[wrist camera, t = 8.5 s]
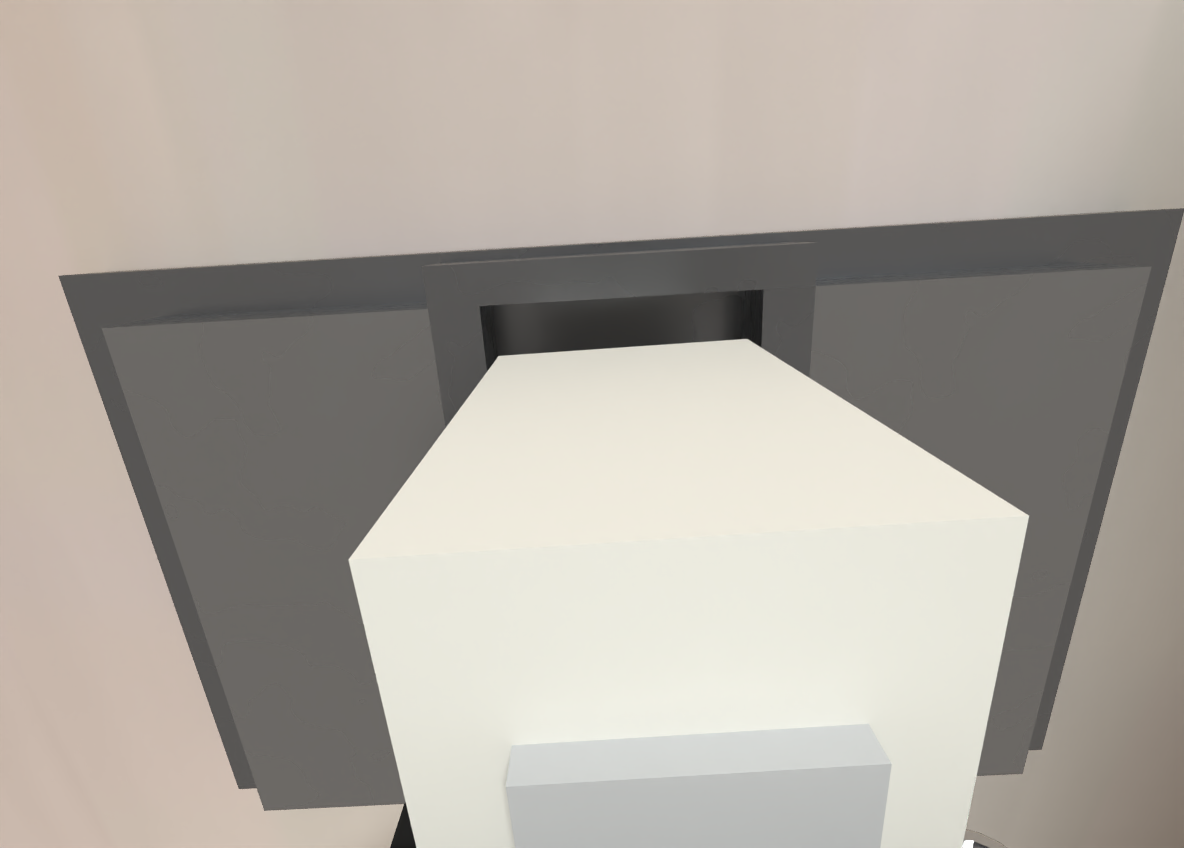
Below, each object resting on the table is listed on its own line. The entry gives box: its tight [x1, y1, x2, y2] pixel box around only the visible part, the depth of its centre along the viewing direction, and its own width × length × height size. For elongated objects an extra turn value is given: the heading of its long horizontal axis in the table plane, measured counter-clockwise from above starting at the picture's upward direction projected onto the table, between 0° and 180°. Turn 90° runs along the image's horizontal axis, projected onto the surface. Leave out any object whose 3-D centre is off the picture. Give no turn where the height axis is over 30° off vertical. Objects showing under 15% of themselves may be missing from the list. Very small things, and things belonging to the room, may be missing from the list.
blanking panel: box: [349, 339, 1029, 848], centre depth 8 cm, size 4×12×6 cm, turn 4°
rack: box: [59, 208, 1184, 811], centre depth 14 cm, size 24×15×3 cm, turn 93°
